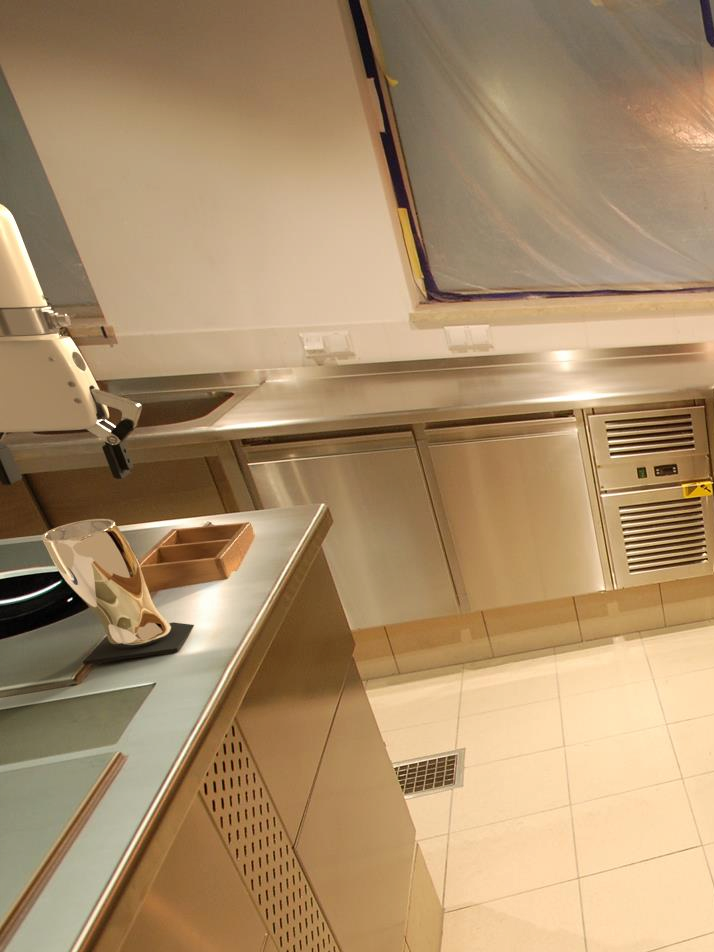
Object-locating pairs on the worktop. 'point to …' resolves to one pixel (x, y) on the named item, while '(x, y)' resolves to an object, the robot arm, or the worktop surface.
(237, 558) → the wooden divided tray
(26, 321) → the robot arm
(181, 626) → the mat
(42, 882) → the worktop surface
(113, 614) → the beer glass
